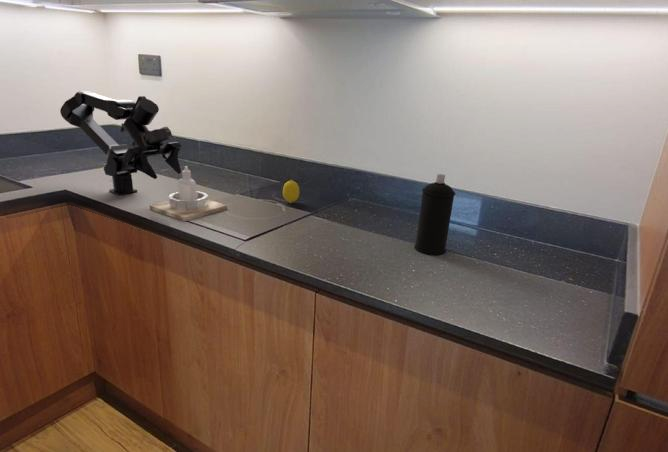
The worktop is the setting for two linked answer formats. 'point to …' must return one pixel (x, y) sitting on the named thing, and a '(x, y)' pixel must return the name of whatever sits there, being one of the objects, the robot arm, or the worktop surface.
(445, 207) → the aerosol can
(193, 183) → the eye dropper bottle
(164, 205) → the base plate
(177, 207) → the collar
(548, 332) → the worktop surface
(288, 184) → the lemon
